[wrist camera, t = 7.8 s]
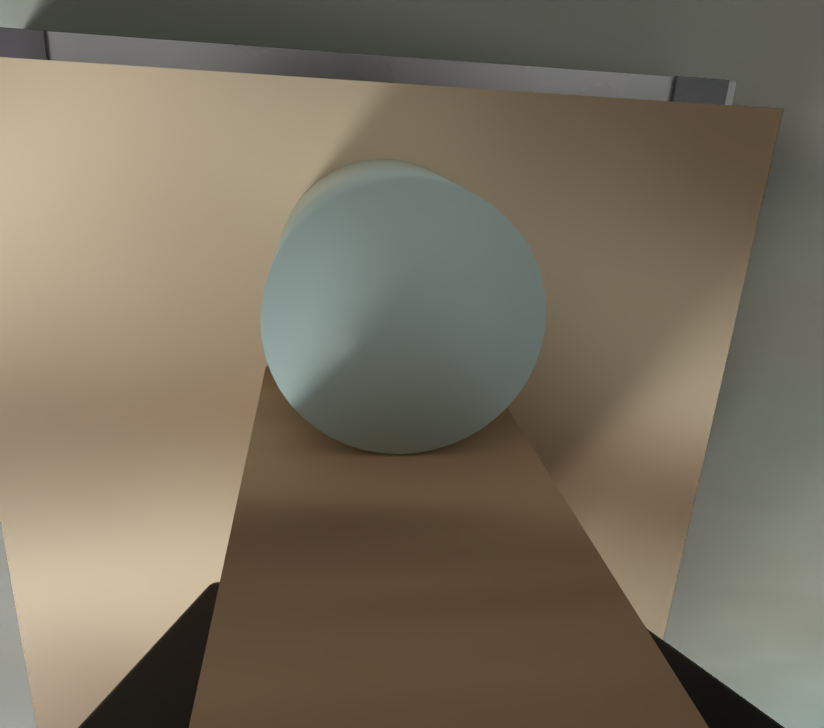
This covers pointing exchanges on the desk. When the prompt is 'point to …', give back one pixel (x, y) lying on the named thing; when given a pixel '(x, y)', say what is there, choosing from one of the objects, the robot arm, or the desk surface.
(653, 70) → the desk surface
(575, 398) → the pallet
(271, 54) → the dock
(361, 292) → the grey-green round cylinder
